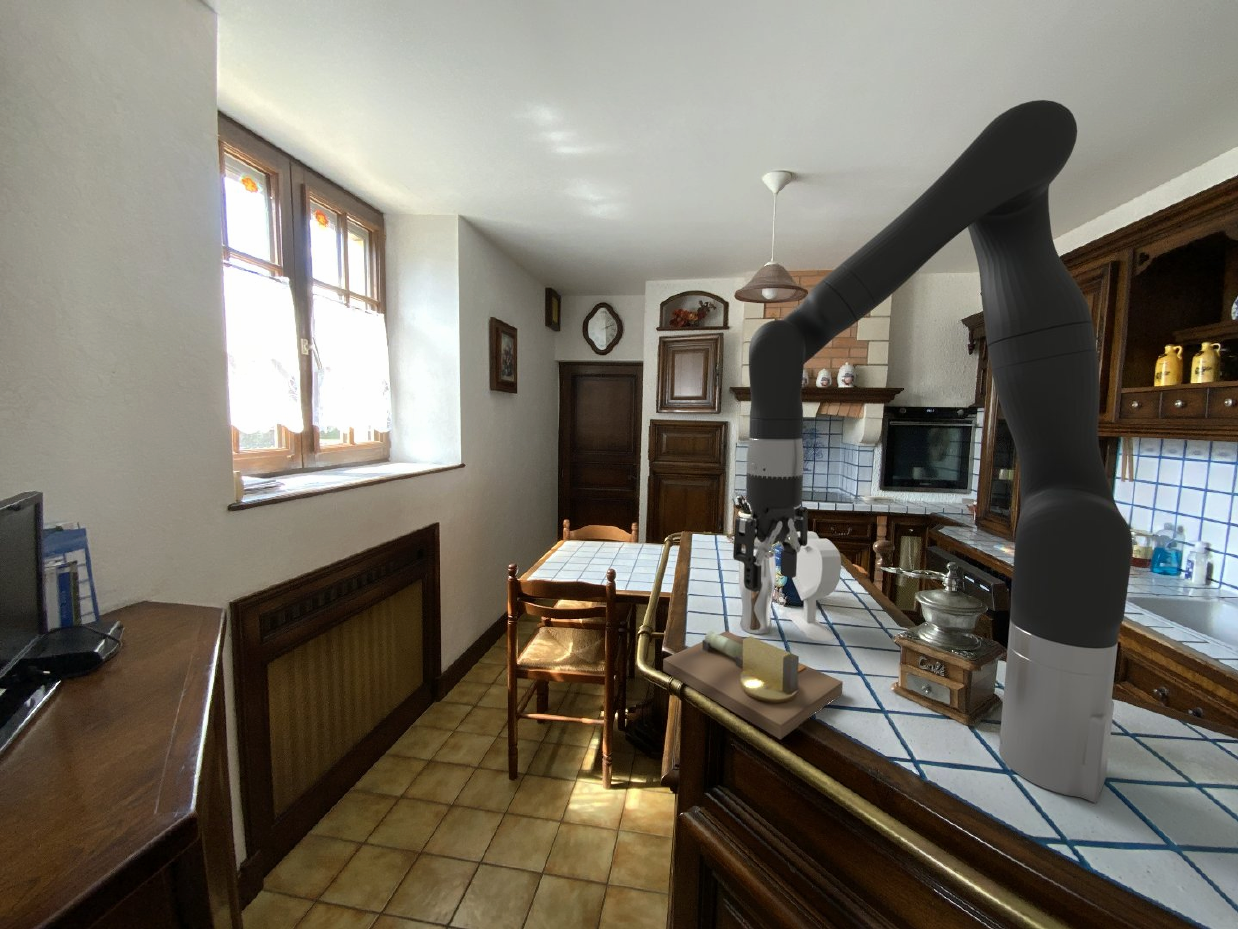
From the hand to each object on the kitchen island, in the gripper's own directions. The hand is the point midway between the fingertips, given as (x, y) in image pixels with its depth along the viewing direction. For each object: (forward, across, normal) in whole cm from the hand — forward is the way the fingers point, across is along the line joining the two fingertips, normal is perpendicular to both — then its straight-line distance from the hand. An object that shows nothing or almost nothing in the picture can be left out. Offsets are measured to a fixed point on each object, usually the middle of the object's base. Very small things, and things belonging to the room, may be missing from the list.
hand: (771, 583), depth 71 cm
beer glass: (+18, +19, +16) cm, 31 cm away
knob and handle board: (+18, +2, +5) cm, 19 cm away
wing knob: (+16, 0, 0) cm, 16 cm away
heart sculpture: (+18, +28, +10) cm, 35 cm away
